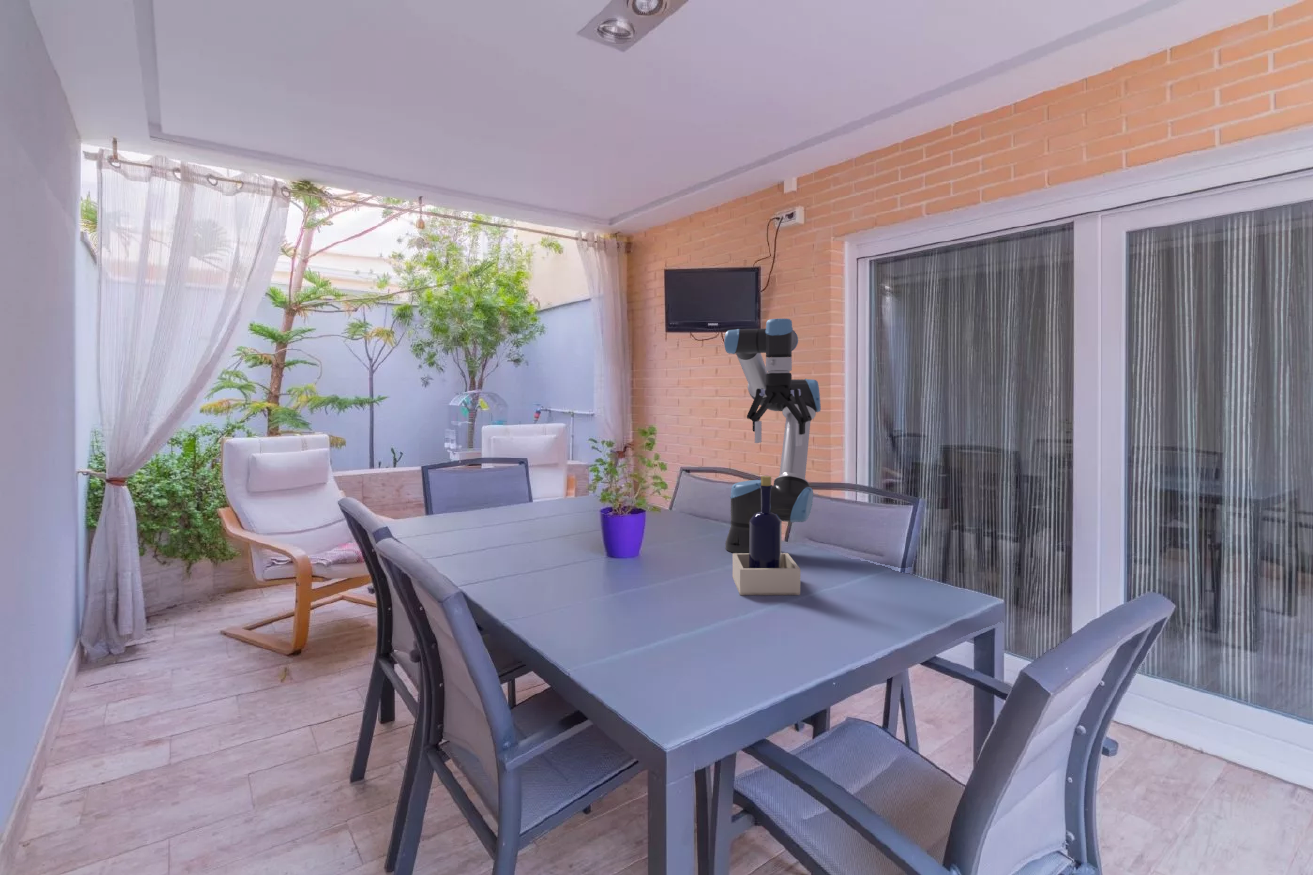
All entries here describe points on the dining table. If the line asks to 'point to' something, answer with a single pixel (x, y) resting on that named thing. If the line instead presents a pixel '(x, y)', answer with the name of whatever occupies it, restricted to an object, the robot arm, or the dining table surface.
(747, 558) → the bin
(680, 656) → the dining table surface
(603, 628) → the dining table surface
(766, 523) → the bottle
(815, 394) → the robot arm
